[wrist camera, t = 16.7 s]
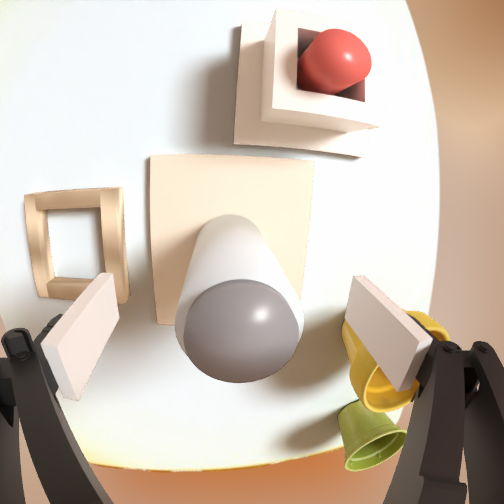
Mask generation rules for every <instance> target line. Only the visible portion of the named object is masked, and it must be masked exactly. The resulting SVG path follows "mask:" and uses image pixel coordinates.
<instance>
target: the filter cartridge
mask: <svg viewBox="0 0 504 504" xmlns="http://www.w3.org/2000/svg"><path fill="white" fill-rule="evenodd" d="M303 327H304V313H303V308H302V305H301V303H300V300H299V298H298V296H297V295H296V293H295V291H294V289H293V287H292V286H291V284H290V282H289V280H288V279H287V277H286V275H285V273H284V272H283V270H282V268H281V267H280V265H279V263H278V261H277V260H276V258H275V256H274V254H273V253H272V251H271V249H270V247H269V246H268V244H267V242H266V241H265V239H264V237H263V235H262V234H261V232H260V230H259V229H258V227H257V226H256V225H255V224H254V223H253V222H252V221H250V220H249V219H247V218H245V217H243V216H240V215H235V214H226V215H221V216H218V217H215V218H213V219H212V220H210V221H209V222H208V223H206V224H205V225H204V227H203V228H202V229H201V231H200V233H199V235H198V237H197V241H196V244H195V247H194V251H193V254H192V257H191V261H190V264H189V268H188V271H187V275H186V278H185V282H184V285H183V289H182V293H181V296H180V300H179V304H178V308H177V311H176V315H175V332H176V337H177V339H178V342H179V344H180V346H181V348H182V350H183V351H184V352H185V354H186V355H187V356H188V357H189V358H190V360H191V361H192V363H193V364H194V365H195V366H196V367H197V368H198V369H199V370H201V371H202V372H203V373H205V374H206V375H208V376H210V377H212V378H215V379H218V380H221V381H225V382H231V383H246V382H253V381H257V380H260V379H263V378H266V377H268V376H270V375H272V374H274V373H275V372H277V371H278V370H280V369H281V368H282V367H283V366H284V365H285V364H286V363H287V362H288V361H289V360H290V358H291V357H292V356H293V354H294V352H295V350H296V347H297V344H298V342H299V340H300V338H301V335H302V332H303Z"/></svg>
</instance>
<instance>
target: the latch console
mask: <svg viewBox="0 0 504 504" xmlns="http://www.w3.org/2000/svg"><path fill="white" fill-rule="evenodd" d="M328 29H342V30H346V31H348V32H351V33H352V34H354V35H356V36H357V37H358V38H359V39H361V40H362V42H363V43H364V44H365V45H366V47H367V48H368V50H369V52H370V55H371V59H372V67H371V71H370V73H369V75H368V76H367V77H366V78H365V79H363V80H361V81H359V82H358V83H356V84H354V85H352V86H350V87H348V88H346V89H344V90H342V91H340V92H338V93H337V94H335V95H333V96H332V95H327V94H321V93H316V92H309V91H303V90H302V89H301V88H300V87H299V85H298V84H297V60H298V59H299V58H300V56H301V55H302V54H303V53H304V51H305V50H306V49H307V48H308V47H309V45H310V44H311V43H312V42H313V41H314V39H315V38H316V37H317V36H318V35H319V34H320V33H321V32H323V31H325V30H328ZM378 127H383V77H382V56H381V42H380V33H377V32H374V31H371V30H368V29H365V28H362V27H359V26H356V25H352V24H349V23H345V22H342V21H338V20H334V19H330V18H326V17H321V16H317V15H312V14H307V13H302V12H296V11H290V10H283V9H276V11H275V14H274V16H273V19H272V21H271V23H262V22H251V21H242V27H241V39H240V52H239V65H238V79H237V94H236V110H235V126H234V144H239V145H257V146H271V147H283V148H294V149H304V150H313V151H321V152H329V153H336V154H343V155H350V156H356V157H366V150H367V129H372V128H378Z"/></svg>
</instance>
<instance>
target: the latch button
mask: <svg viewBox="0 0 504 504" xmlns="http://www.w3.org/2000/svg"><path fill="white" fill-rule="evenodd" d="M371 67H372V59H371V55H370V52H369V50H368V48H367V47H366V45H365V44H364V43H363V42H362V40H361V39H359V38H358V37H357V36H356V35H354V34H352V33H351V32H348V31H346V30H342V29H328V30H325V31H323V32H321V33H320V34H319V35H318V36H317V37H316V38H315V39H314V41H313V42H312V43H311V44H310V45H309V47H308V48H307V49H306V50H305V51H304V53H303V54H302V55H301V56H300V58H299V59H298V60H297V84H298V85H299V87H300V88H301V89H302V90H303V91H309V92H316V93H321V94H327V95H332V96H333V95H335V94H337V93H338V92H340V91H342V90H344V89H346V88H348V87H350V86H352V85H354V84H356V83H358V82H359V81H361V80H363V79H365V78H366V77H367V76H368V75H369V73H370V71H371Z"/></svg>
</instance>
